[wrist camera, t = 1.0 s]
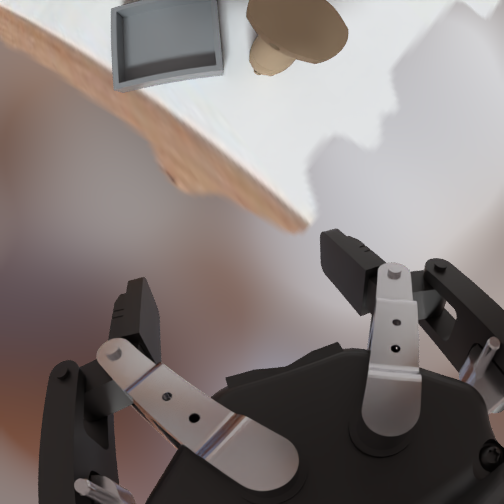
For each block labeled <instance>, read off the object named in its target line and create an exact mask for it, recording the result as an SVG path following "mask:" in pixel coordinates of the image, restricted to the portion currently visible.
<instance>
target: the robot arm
mask: <svg viewBox="0 0 504 504" xmlns="http://www.w3.org/2000/svg"><path fill="white" fill-rule="evenodd" d="M320 252H321V266H322V269H323V272H324V273H325V275H326V276H327V277H328V278H329V279H330V281H331V282H332V283H333V284H334V285H335V286H336V288H338V290H339V291H340V292H341V293H342V295H343V296H344V297H345V298H346V299H347V301H348V302H349V303H350V304H351V305H352V307H353V308H354V309H355V310H356V311H357V313H358V314H359V315H360V316H362V315H365V314H367V313H371V314H372V317H371V324H370V331H369V339H368V346H367V350H365V349H356V348H350V349H342V348H341V346H340V344H339V343H338V342H336V343H334V344H331V345H328V346H325V347H323V348H320V349H317V350H314V351H312V352H310V353H308V354H307V355H305V356H304V357H302V358H300V359H299V360H297V361H295V362H294V363H292V364H290V365H288V366H286V367H278V368H269V369H257V370H252V371H248V372H245V373H241V374H237V375H234V376H230V377H226V381H227V385H228V386H227V387H225V388H223V389H221V390H220V391H218V392H217V393H215V394H214V395H213V396H212V397H211V398H210V397H209V396H207V395H206V394H204V393H203V392H201V391H200V390H198V389H197V388H195V387H194V386H192V385H191V384H190V383H188V382H187V381H186V380H184V379H183V378H181V377H180V376H179V375H177V374H176V373H175V372H173V371H172V370H171V369H169V368H168V367H167V366H165V365H164V364H163V363H161V346H160V317H159V311H158V308H157V305H156V302H155V300H154V297H153V295H152V292H151V290H150V287H149V285H148V282H147V280H146V278H145V277H142V278H138V279H134V280H130V281H128V285H127V292H126V293H125V294H121V295H120V296H119V297H118V299H117V300H116V302H115V304H114V309H113V314H112V320H111V326H110V332H109V339H108V341H107V342H105V343H104V344H103V345H102V346H101V347H100V348H99V350H98V352H97V356H96V357H97V359H96V360H94V361H92V362H90V363H88V364H86V365H84V366H81V367H79V366H78V365H77V364H76V363H75V362H74V361H71V360H67V361H63V362H61V363H59V364H58V365H56V366H55V367H54V368H53V370H52V372H51V373H50V376H49V381H48V386H47V392H46V398H45V405H44V412H43V420H42V429H41V440H40V452H39V476H38V480H39V481H38V491H39V492H38V493H39V494H38V496H39V504H136V503H135V500H134V497H133V495H132V494H131V493H130V492H129V490H127V489H126V488H124V487H122V486H121V485H119V479H118V470H117V461H116V450H115V436H114V415H113V413H114V412H117V411H119V410H121V409H123V408H125V407H127V406H129V405H131V406H132V407H133V408H134V409H135V410H136V411H137V412H138V413H139V414H140V415H141V416H142V417H143V418H144V419H145V420H146V421H147V422H148V423H149V424H150V425H151V426H153V427H154V428H155V429H156V430H157V431H158V432H159V433H160V434H161V435H162V436H163V437H164V438H165V439H166V440H167V441H168V442H169V443H170V444H171V445H172V446H174V447H175V448H176V449H177V451H176V453H175V455H174V456H173V458H172V460H171V461H170V463H169V465H168V466H167V468H166V470H165V471H164V473H163V475H162V476H161V478H160V479H159V481H158V483H157V484H156V486H155V488H154V489H153V491H152V492H151V494H150V496H149V498H148V499H147V501H146V503H145V504H504V448H503V447H502V446H501V445H500V444H499V443H498V442H497V440H496V438H495V436H494V434H493V431H492V428H491V425H490V421H489V416H488V415H489V414H490V413H491V412H492V413H499V412H501V411H503V410H504V310H503V309H502V308H501V307H500V306H499V305H498V304H497V303H496V302H495V301H494V300H493V299H491V298H490V297H489V296H488V295H487V294H486V293H485V292H484V291H483V290H482V289H480V288H479V287H478V286H477V285H476V284H475V283H474V282H472V281H471V280H470V279H469V278H468V277H467V276H465V275H464V274H463V273H461V271H459V270H458V269H457V268H456V267H454V266H453V265H452V264H451V263H450V262H448V261H446V260H443V259H438V258H434V259H430V260H428V261H427V262H426V264H425V269H424V270H422V271H413V272H410V270H409V269H408V268H407V267H406V266H404V265H402V264H399V263H392V262H391V263H386V262H385V261H383V260H382V259H381V258H380V257H379V256H378V255H376V254H375V253H374V252H373V251H371V250H370V249H369V248H368V247H367V246H365V245H364V244H363V243H362V242H361V241H359V240H358V239H355V238H353V237H350V236H346V235H344V234H343V233H342V232H341V231H340V230H338V229H332V230H329V231H325V232H322V233H321V235H320ZM446 301H447V302H448V303H449V304H450V305H451V306H452V307H453V308H454V309H455V311H456V314H457V319H456V320H455V319H454V318H453V317H452V316H451V315H450V314H449V312H448V311H447V310H446V309H445V308H444V306H445V303H446ZM418 324H419V325H420V326H421V327H422V328H423V329H424V330H425V332H426V333H427V334H428V335H429V336H430V338H431V339H432V340H433V341H434V342H435V344H436V345H437V346H438V347H439V349H440V350H441V351H442V352H443V354H444V355H445V356H446V357H447V359H448V360H449V361H450V362H451V363H452V365H453V366H454V367H455V368H456V370H457V371H458V372H459V379H460V380H457V379H454V378H450V377H447V376H444V375H440V374H438V373H435V372H432V371H428V370H425V369H422V368H419V332H418V331H419V329H418Z"/></svg>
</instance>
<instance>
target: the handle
mask: <svg viewBox="0 0 504 504" xmlns="http://www.w3.org/2000/svg"><path fill="white" fill-rule="evenodd" d="M246 17H247V19H248V20H249V22H250V24H251V25H252V27H253V28H254V30H255V31H256V33H257V34H258V36H257V38H256V39H255V41H254V42H253V44H252V47H251V50H250V60H249V62H250V63H251V65H252V67H253V69H254V73H256V74H257V75H261V74H262V75H269V76H273V75H275V74H278V73H280V72H282V71H284V70H285V69H287V68H288V67H289V66H290V65H291V64H292V63H293V62H294V61H295V59H297V60H301V61H305V62H309V63H313V64H317V63H321V62H324V61H327V60H329V59H331V58H332V57H334V56H335V55H337V54H338V53H339V52H340V51H341V50H342V49H343V47H344V46H345V44H346V42H347V39H348V28H347V26H346V25H345V23H344V21H343V20H342V18H341V16H340V15H339V13H338V12H337V11H336V9H335V8H334V7H333V6H332V5H331V4H330V3H328V2H327V1H326V0H249V3H248V7H247V14H246Z"/></svg>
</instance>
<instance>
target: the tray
mask: <svg viewBox="0 0 504 504" xmlns="http://www.w3.org/2000/svg"><path fill="white" fill-rule="evenodd" d="M111 50H112V71H113V85H114V90H115V91H119V92H122V93H124V92H128V91H132V90H137V89H141V88H145V87H150V86H155V85H160V84H165V83H171V82H177V81H183V80H189V79H196V78H203V77H211V76H220V75H223V63H222V52H221V41H220V30H219V18H218V6H217V0H140V1H136V2H133V3H129V4H125V5H122V6H118V7H115V8H112V9H111Z"/></svg>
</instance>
